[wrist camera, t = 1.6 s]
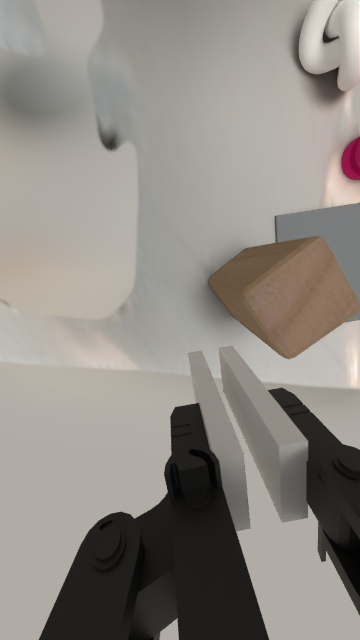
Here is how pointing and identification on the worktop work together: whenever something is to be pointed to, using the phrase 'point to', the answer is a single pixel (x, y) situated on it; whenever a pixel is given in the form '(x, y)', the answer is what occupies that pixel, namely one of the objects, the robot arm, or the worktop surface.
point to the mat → (329, 236)
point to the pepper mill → (352, 160)
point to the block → (287, 293)
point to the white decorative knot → (345, 52)
